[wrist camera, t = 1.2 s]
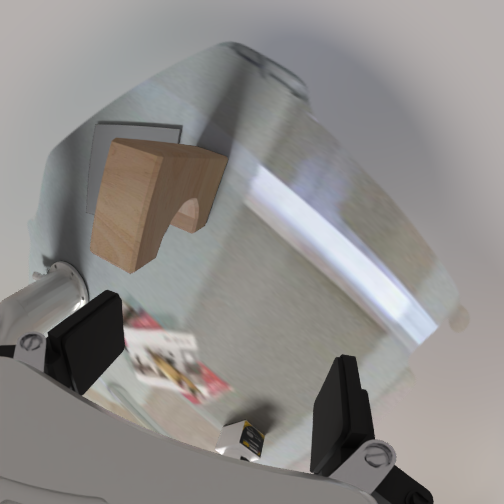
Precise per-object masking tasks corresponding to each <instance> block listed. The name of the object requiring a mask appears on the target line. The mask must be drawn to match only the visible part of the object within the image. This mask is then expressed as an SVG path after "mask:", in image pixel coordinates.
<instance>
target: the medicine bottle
mask: <svg viewBox="0 0 504 504" xmlns="http://www.w3.org/2000/svg"><path fill="white" fill-rule="evenodd" d="M264 438H265V436H264V435H263V434H262V433H261V432H260V431H258V430H257V429H256V428H255V427H253V426H252V425H251V424H250V423H249V422H248V421H246V420H244V421H241V422H238V423H235V424H232V425H228V426H225V427H223V428H222V431H221V433H220V436H219V439H218V442H217V445H216V448H215V450H216V451H218V452H219V453H220V454H222V455H224V456H228V457H232V458H236V459H240V460H244V461H248V462H250V461H254V460H258V459H260V457H261V452H262V447H263V442H264Z"/></svg>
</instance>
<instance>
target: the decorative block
mask: <svg viewBox="0 0 504 504" xmlns="http://www.w3.org/2000/svg"><path fill="white" fill-rule="evenodd" d="M227 161H228V158H227V157H226V156H224V155H221V154H218V153H215V152H212V151H209V150H206V149H203V148H200V147H197V146H191V145H184V144H176V143H168V142H159V141H150V140H139V139H128V138H115V139H113V140H112V141H111V145H110V148H109V152H108V156H107V160H106V164H105V168H104V172H103V176H102V180H101V185H100V190H99V194H98V199H97V205H96V210H95V216H94V223H93V229H92V236H91V244H90V251H91V252H92V253H93V254H95V255H97V256H99V257H101V258H102V259H104V260H106V261H108V262H110V263H112V264H113V265H115V266H117V267H119V268H121V269H123V270H125V271H126V272H128V273H130V274H131V273H133V272H135V271H137V270H138V269H140V268H141V267H143V266H144V265H145V264H147V263H148V262H150V261H151V260H153V259H154V258H156V256H157V253H158V250H159V247H160V244H161V241H162V238H163V236H164V234H165V232H166V230H167V228H168V226H169V225H170V224H171V225H173V226H176V227H178V228H180V229H183V230H185V231H187V232H190V233H194V232H196V231H197V230H199V229H201V228H202V227H204V226H205V224H206V221H207V218H208V215H209V212H210V209H211V206H212V204H213V201H214V198H215V195H216V192H217V189H218V186H219V184H220V181H221V178H222V175H223V172H224V170H225V167H226V164H227Z"/></svg>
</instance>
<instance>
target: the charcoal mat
mask: <svg viewBox="0 0 504 504" xmlns="http://www.w3.org/2000/svg"><path fill="white" fill-rule="evenodd" d="M180 135H181V130H180V129H171V128H160V127H147V126H130V125H101V124H95V130H94V136H93V143H92V150H91V158H90V167H89V177H88V190H87V206H86V213H89V214H93V215H95V210H96V205H97V199H98V194H99V190H100V185H101V180H102V176H103V172H104V168H105V164H106V160H107V156H108V152H109V148H110V145H111V141H112V140H113V139H115V138H128V139H139V140H150V141H159V142H168V143H176V144H179V141H180Z"/></svg>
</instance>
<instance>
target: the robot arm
mask: <svg viewBox="0 0 504 504" xmlns="http://www.w3.org/2000/svg"><path fill="white" fill-rule="evenodd" d="M33 279H34V280H36V282H34V283H32V284H30V285H28V286H27V287H25V288H23V289H21V290H19V291H18V292H16V293H14V294H12V295H11V296H9V297H7V298H6V299H4V300H2V301H1V302H0V504H433V502H434V501H433V496H432V494H431V493H430V491H428V490H427V489H426V488H425V487H423V486H422V485H421V484H419V483H418V482H417V481H415V480H414V479H412V478H411V477H410V476H408V475H407V474H406V473H404V472H403V471H402V470H401V469H399V468H398V467H397V466H395V465H394V464H395V462H396V453H395V451H394V449H393V447H392V446H391V445H389V444H388V443H386V442H384V441H382V440H375V435H374V428H373V422H372V415H371V409H370V403H369V398H368V393H367V391H366V390H364V389H361V384H360V378H359V373H358V367H357V362H356V357H355V356H349V355H343V354H342V355H341V356H340V357H336V358H335V360H334V362H333V364H332V366H331V369H330V371H329V373H328V375H327V377H326V379H325V382H324V384H323V386H322V388H321V390H320V392H319V394H318V396H317V398H316V400H315V403H314V408H313V431H312V449H311V463H310V472H312V473H314V474H309V473H304V472H298V471H293V470H287V469H281V468H276V467H271V466H266V465H261V464H257V463H253V462H248V461H244V460H240V459H236V458H232V457H228V456H224V455H221V454H217V453H214V452H210V451H207V450H204V449H201V448H198V447H195V446H192V445H189V444H186V443H183V442H180V441H177V440H175V439H172V438H169V437H167V436H164V435H162V434H159V433H157V432H154V431H152V430H149V429H147V428H145V427H142V426H140V425H138V424H136V423H133V422H131V421H129V420H127V419H125V418H123V417H121V416H119V415H117V414H114V413H112V412H110V411H109V410H107V409H105V408H103V407H101V406H99V405H97V404H95V403H93V402H92V401H90V400H88V399H86V398H84V397H83V396H82V395H83V394H85V392H86V391H87V390H88V389H89V388H90V387H91V386H92V385H93V384H94V382H95V381H96V380H97V379H98V378H99V377H100V376H101V375H102V374H103V373H104V371H105V370H106V369H107V368H108V367H109V366H110V365H111V364H112V363H113V362H114V361H115V359H116V358H117V357H118V356H119V355H120V354H121V353H122V352H123V350H124V347H125V342H124V330H123V315H122V300H121V298H120V297H119V294H117V293H115V292H112V291H109V290H105V291H104V292H102V293H101V294H100V295H98V296H97V297H95V298H94V299H92V300H91V301H90V302H88V293H87V289H86V286H85V283H84V281H83V279H82V277H81V276H80V274H79V273H78V272H77V270H76V269H75V268H74V267H73V266H71V265H70V264H69V263H67V262H64V261H58V262H56V263H54V264H53V265H52V266H51V267H50V269H49V273H48V274H46V275H45V274H43V275H41V274H40V273H38V272H34V273H33ZM68 315H70V316H69V317H68V318H66V319H65V320H63V319H64V318H65V317H67V316H68ZM61 320H63V321H62V322H61V323H59V322H60V321H61ZM57 323H59V324H58V325H57V326H55V327H54V328H53V329H51V330H50V331H49V332H48V337H47V338H45V336H44V335H43V334H44V333H45V332H46V331H48V330H49V329H50V328H52V327H53V326H54V325H56V324H57Z"/></svg>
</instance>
